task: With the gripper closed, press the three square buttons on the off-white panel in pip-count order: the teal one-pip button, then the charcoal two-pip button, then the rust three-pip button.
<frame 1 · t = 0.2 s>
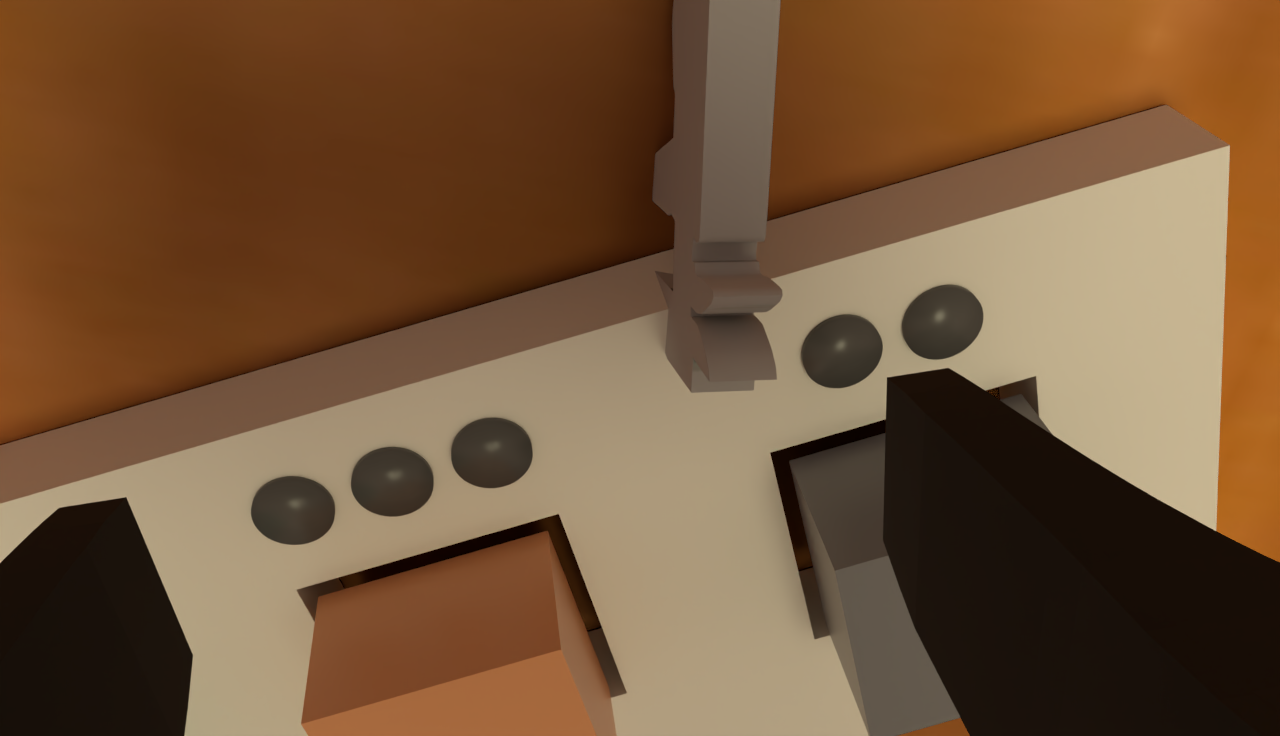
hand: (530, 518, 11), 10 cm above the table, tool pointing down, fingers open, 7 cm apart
button three: (472, 703, 21), point 4 cm above the table, slide at 0.0 cm
button two: (946, 567, 21), point 4 cm above the table, slide at 0.0 cm
button panel: (469, 575, 24), on the table
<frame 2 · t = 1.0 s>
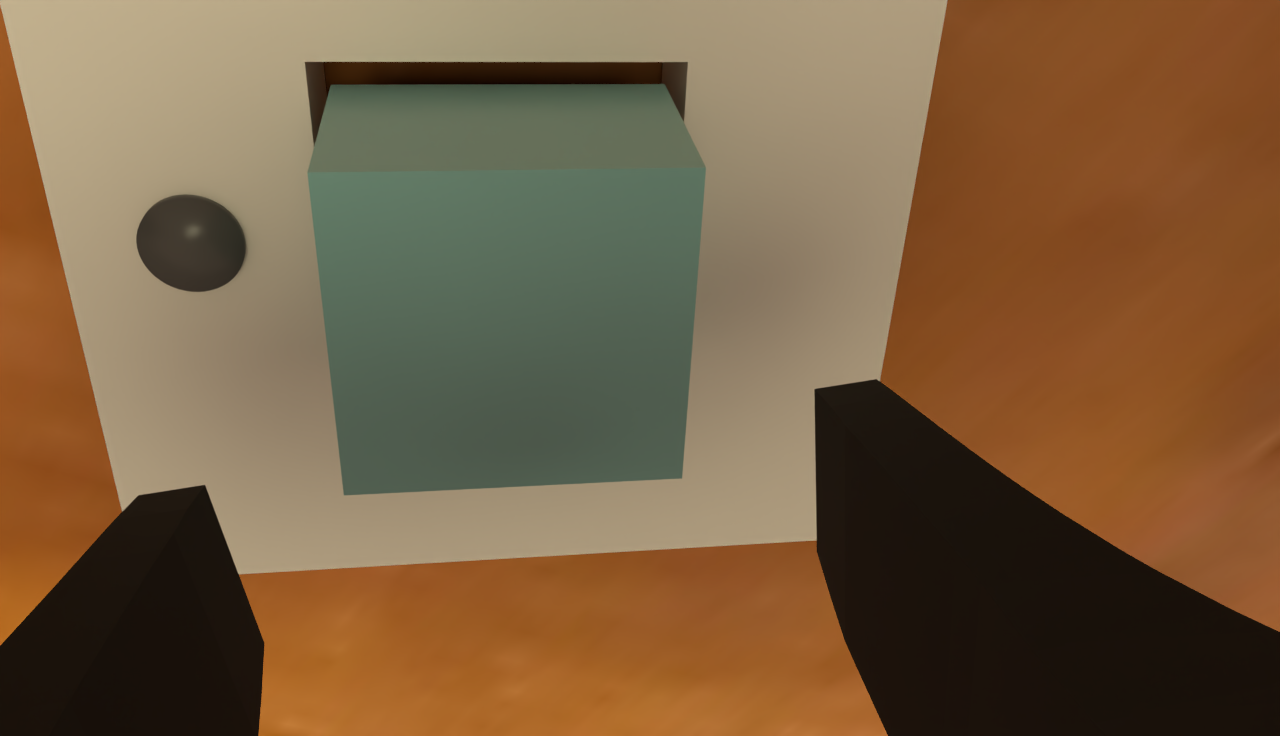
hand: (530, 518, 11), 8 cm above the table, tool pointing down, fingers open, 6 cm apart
button one: (508, 284, 15), point 3 cm above the table, slide at 0.0 cm
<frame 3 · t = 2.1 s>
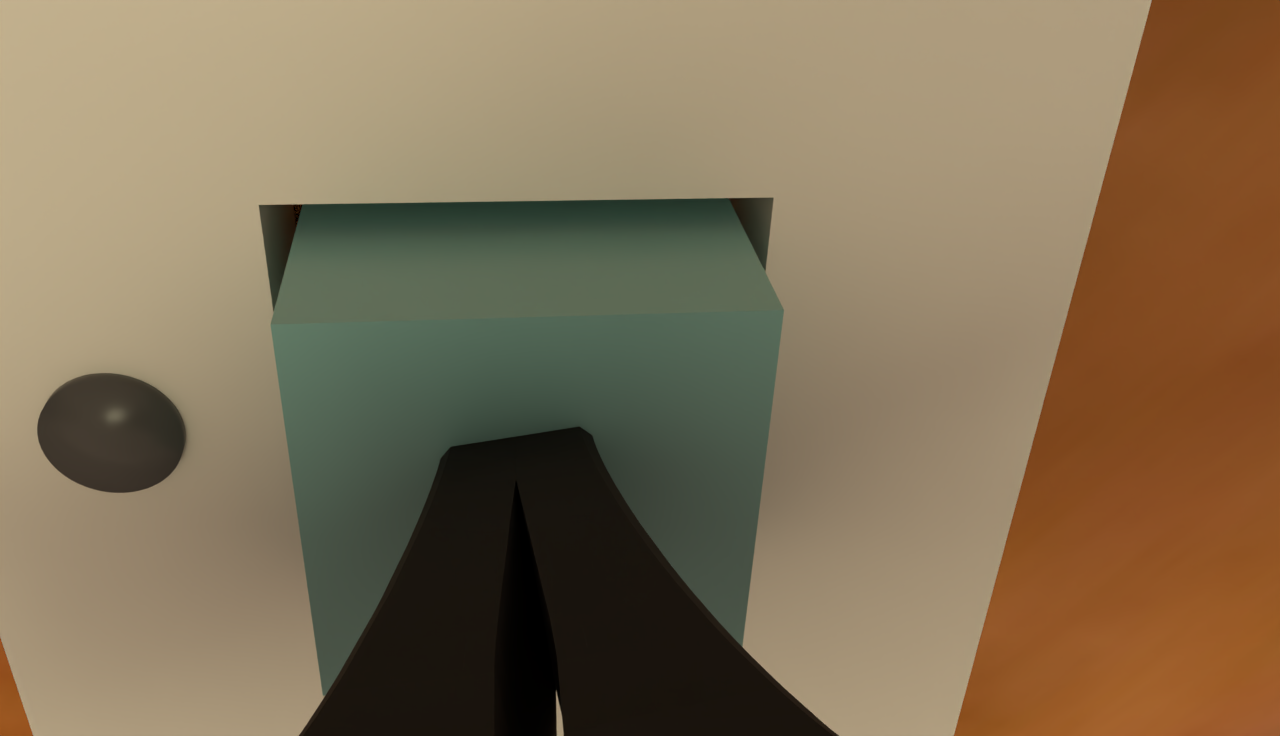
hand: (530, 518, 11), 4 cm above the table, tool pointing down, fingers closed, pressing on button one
button one: (527, 428, 12), point 2 cm above the table, slide at 1.2 cm, touching gripper
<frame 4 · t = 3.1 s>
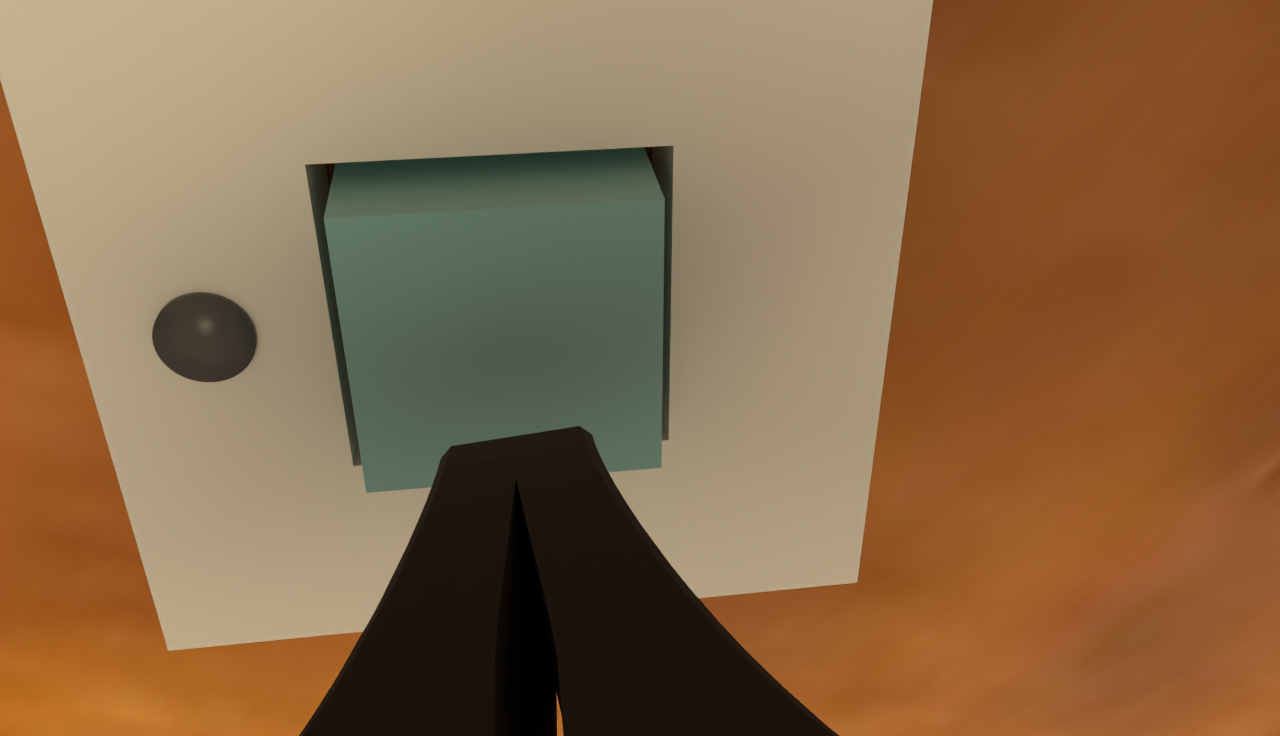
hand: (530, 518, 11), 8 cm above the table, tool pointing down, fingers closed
button one: (502, 303, 18), point 2 cm above the table, slide at 1.9 cm
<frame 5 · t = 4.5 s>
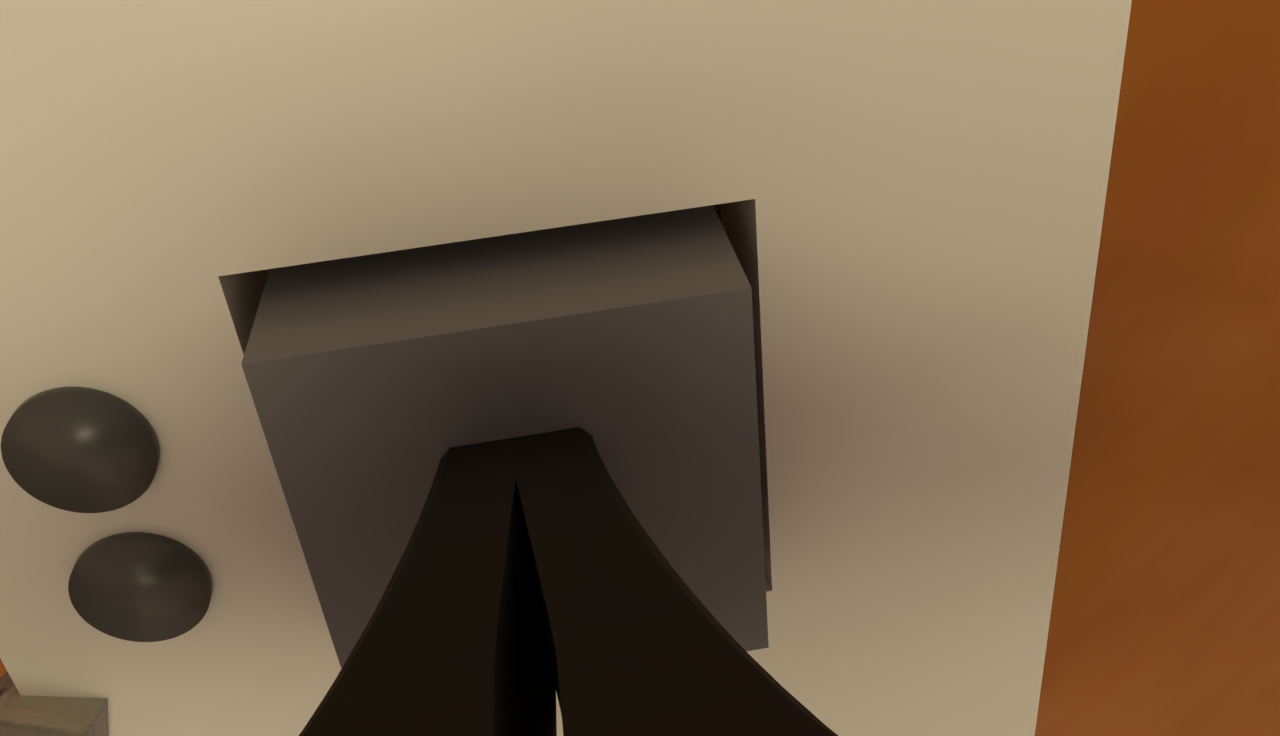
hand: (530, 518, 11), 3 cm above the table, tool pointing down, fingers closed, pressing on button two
button two: (527, 433, 12), point 2 cm above the table, slide at 1.9 cm, touching gripper
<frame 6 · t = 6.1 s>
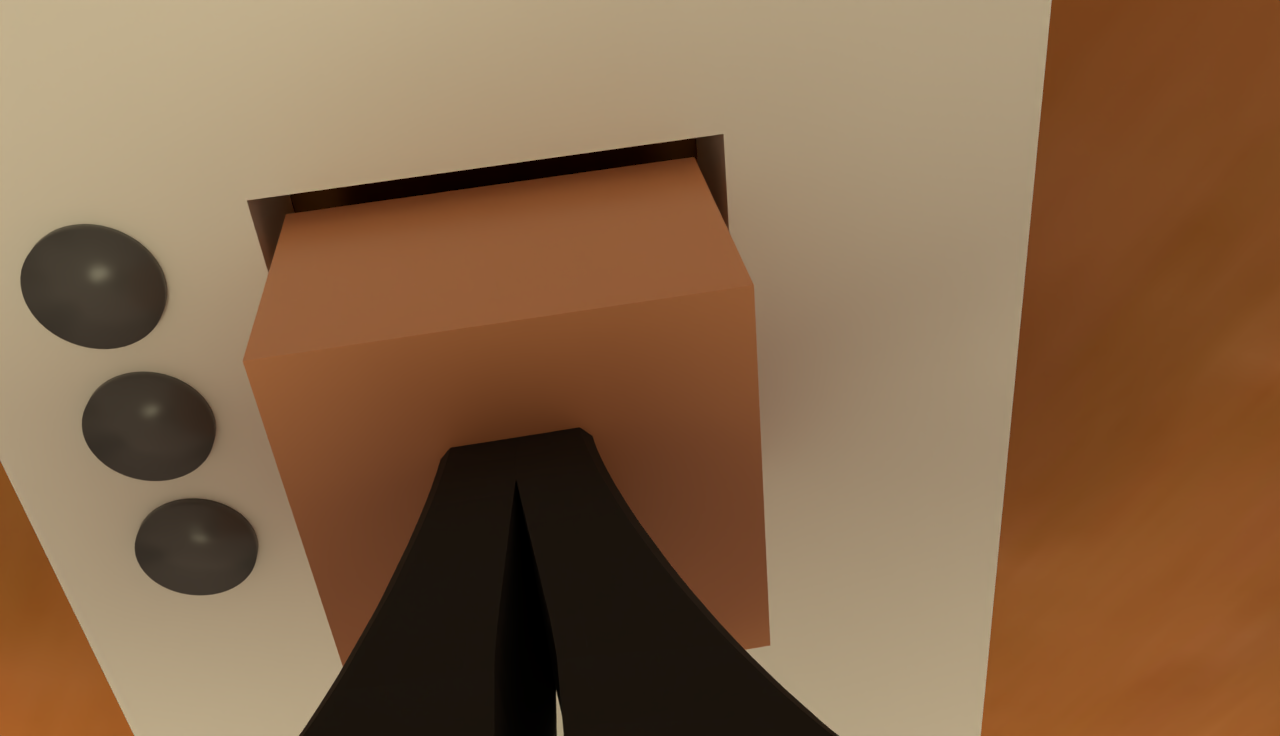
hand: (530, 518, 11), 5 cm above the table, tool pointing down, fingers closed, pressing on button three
button three: (529, 430, 12), point 3 cm above the table, slide at 0.2 cm, touching gripper
button panel: (515, 287, 15), on the table
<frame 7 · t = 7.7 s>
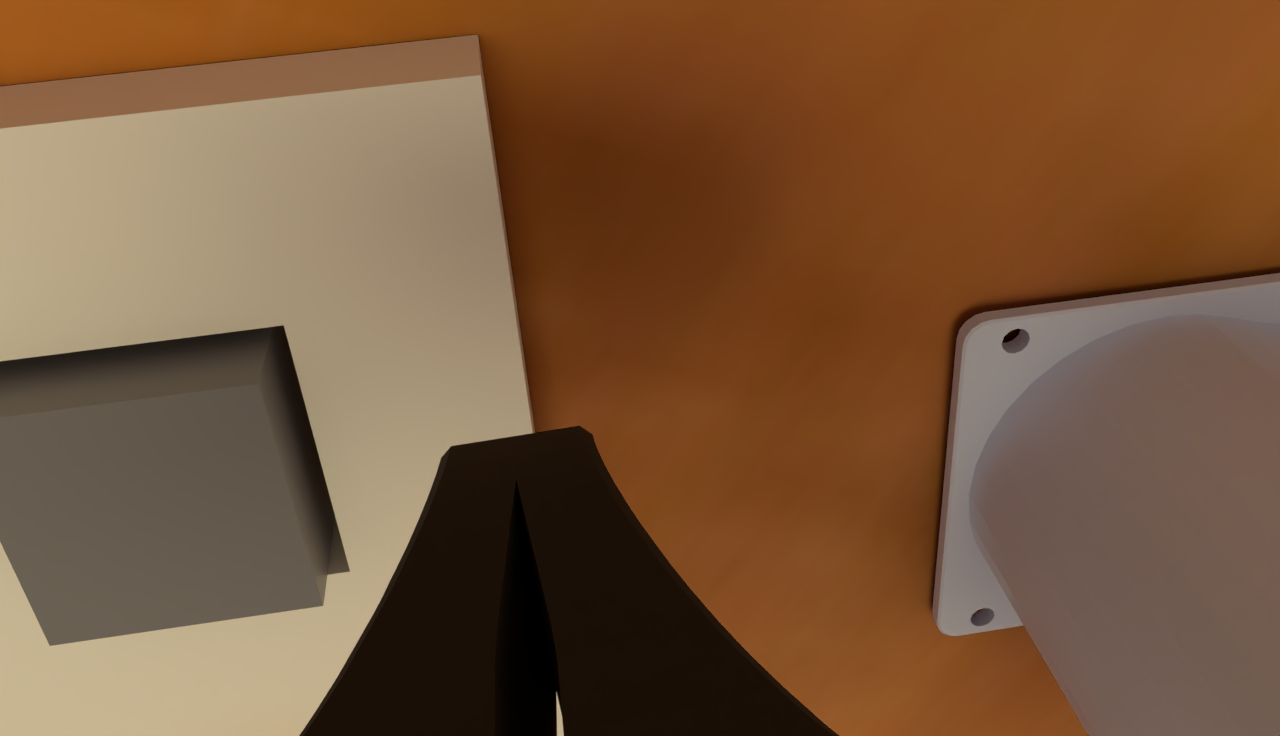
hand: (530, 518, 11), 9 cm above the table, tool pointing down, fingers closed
button two: (168, 464, 19), point 2 cm above the table, slide at 1.9 cm
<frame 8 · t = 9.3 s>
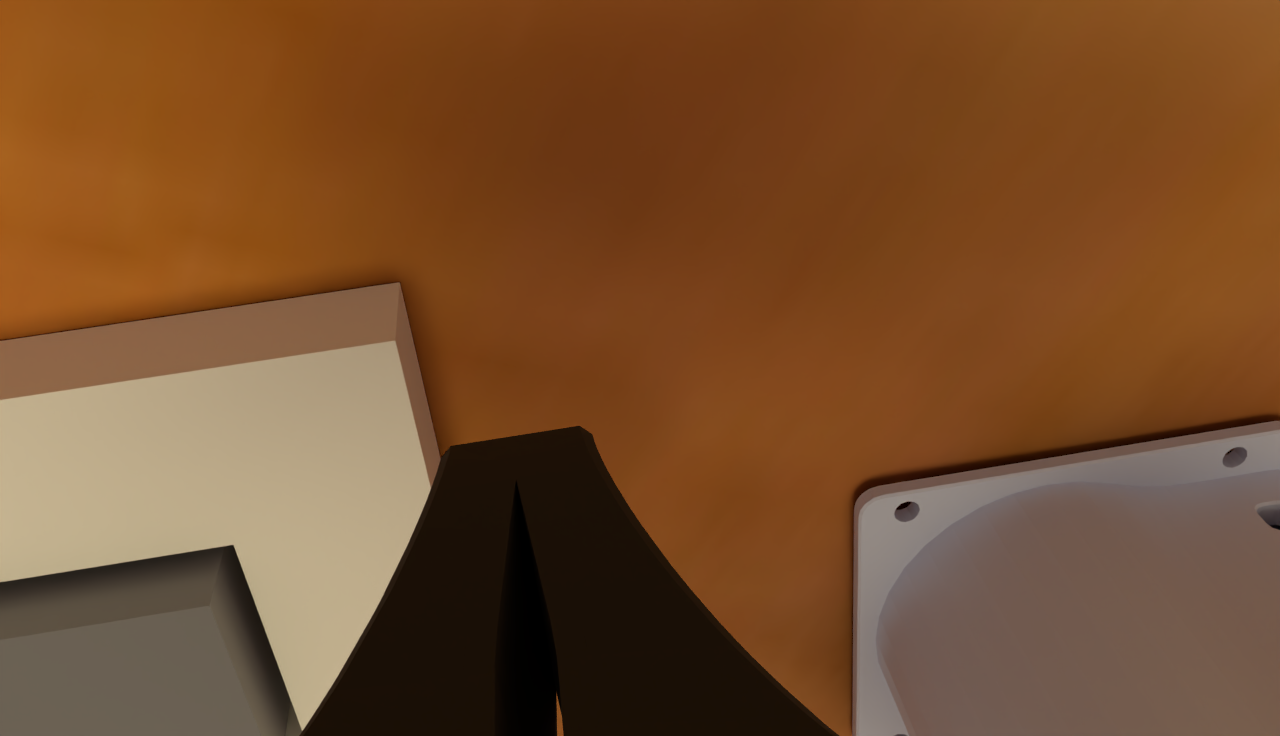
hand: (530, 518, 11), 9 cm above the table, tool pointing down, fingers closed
button two: (137, 655, 21), point 2 cm above the table, slide at 1.9 cm
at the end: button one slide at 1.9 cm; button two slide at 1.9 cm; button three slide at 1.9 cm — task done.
